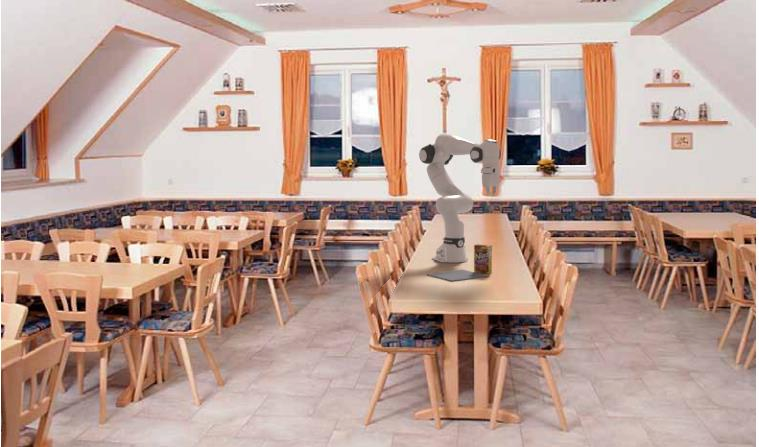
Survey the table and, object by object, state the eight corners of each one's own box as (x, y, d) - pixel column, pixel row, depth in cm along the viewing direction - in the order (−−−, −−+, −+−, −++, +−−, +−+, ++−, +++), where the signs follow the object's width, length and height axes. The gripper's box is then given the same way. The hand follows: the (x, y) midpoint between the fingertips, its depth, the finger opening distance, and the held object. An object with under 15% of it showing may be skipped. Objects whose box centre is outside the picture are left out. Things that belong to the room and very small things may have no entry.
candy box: (473, 272, 419) (473, 244, 417) (477, 271, 422) (477, 243, 421) (488, 274, 414) (488, 245, 412) (492, 273, 417) (492, 244, 416)
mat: (426, 275, 413) (426, 274, 412) (462, 270, 425) (462, 269, 425) (451, 281, 394) (451, 280, 394) (488, 276, 406) (488, 275, 406)
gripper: (491, 168, 433) (491, 193, 434) (479, 170, 415) (480, 195, 416) (502, 168, 430) (502, 193, 432) (491, 170, 412) (491, 196, 413)
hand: (491, 194), depth 424 cm, fingers open, 8 cm apart
